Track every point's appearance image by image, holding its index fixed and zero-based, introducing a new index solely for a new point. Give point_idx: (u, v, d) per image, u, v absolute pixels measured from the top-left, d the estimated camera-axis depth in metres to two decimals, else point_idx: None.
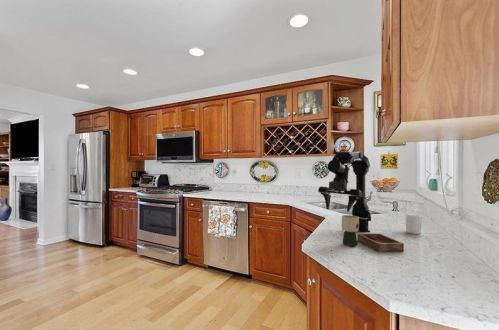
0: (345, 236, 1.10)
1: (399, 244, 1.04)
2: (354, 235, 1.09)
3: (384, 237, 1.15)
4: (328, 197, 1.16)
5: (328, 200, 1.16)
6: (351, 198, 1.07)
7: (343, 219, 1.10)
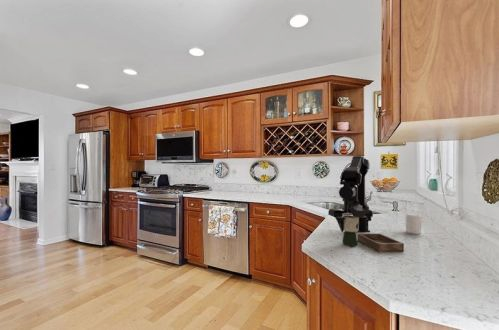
0: (345, 236, 1.10)
1: (399, 244, 1.04)
2: (354, 235, 1.09)
3: (384, 237, 1.15)
4: None
5: None
6: (364, 219, 1.10)
7: None
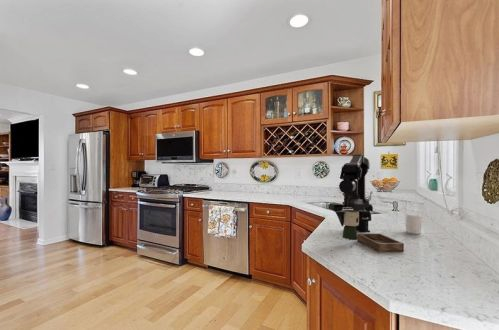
0: (345, 230, 1.10)
1: (399, 244, 1.04)
2: (354, 229, 1.09)
3: (384, 237, 1.15)
4: None
5: None
6: (364, 213, 1.10)
7: None
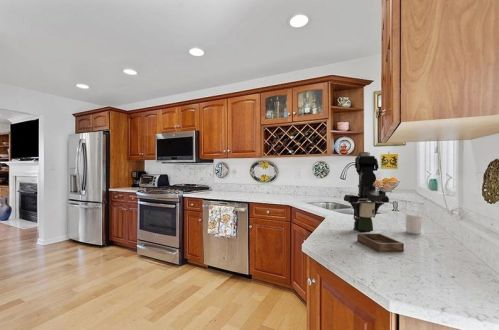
0: (361, 222, 1.10)
1: (399, 244, 1.04)
2: (370, 220, 1.09)
3: (384, 237, 1.15)
4: None
5: None
6: (380, 205, 1.10)
7: None
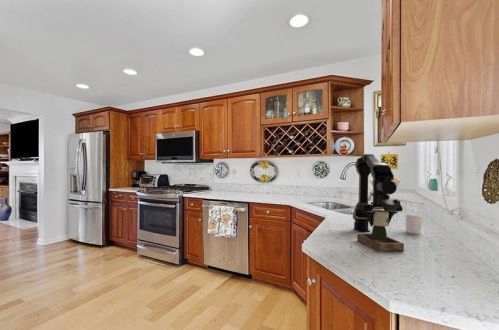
0: (375, 230, 1.10)
1: (399, 244, 1.04)
2: (384, 229, 1.09)
3: None
4: None
5: None
6: (393, 214, 1.10)
7: None
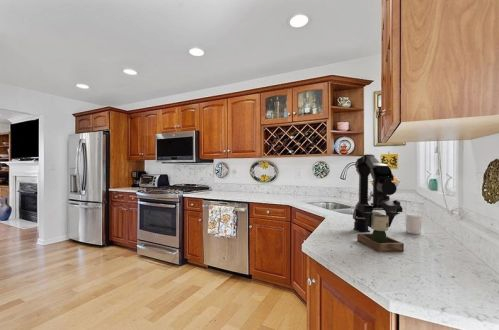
0: (375, 235, 1.10)
1: (399, 244, 1.04)
2: (384, 234, 1.08)
3: None
4: None
5: None
6: (395, 215, 1.10)
7: (372, 218, 1.10)
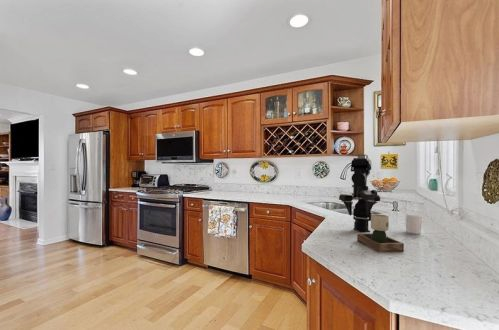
0: (375, 235, 1.10)
1: (399, 244, 1.04)
2: (384, 234, 1.09)
3: None
4: None
5: None
6: (373, 204, 1.19)
7: (373, 218, 1.10)
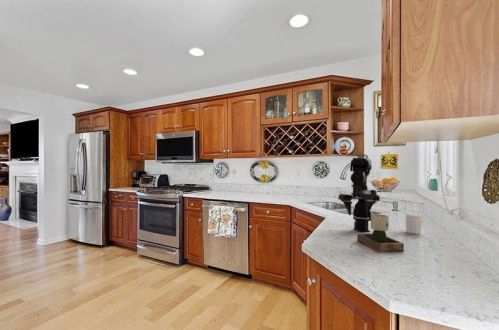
0: (375, 235, 1.10)
1: (399, 244, 1.04)
2: (384, 234, 1.09)
3: None
4: None
5: None
6: (373, 203, 1.19)
7: (373, 218, 1.10)
